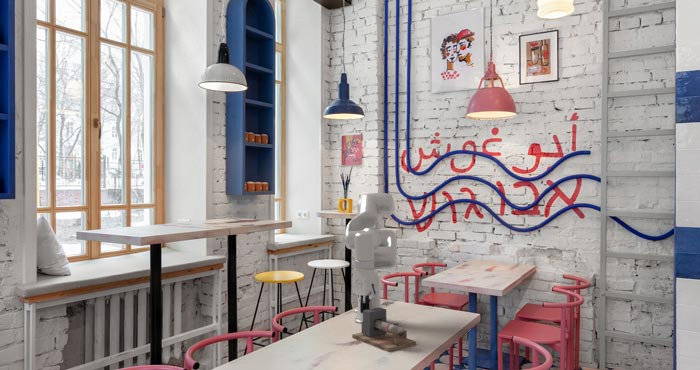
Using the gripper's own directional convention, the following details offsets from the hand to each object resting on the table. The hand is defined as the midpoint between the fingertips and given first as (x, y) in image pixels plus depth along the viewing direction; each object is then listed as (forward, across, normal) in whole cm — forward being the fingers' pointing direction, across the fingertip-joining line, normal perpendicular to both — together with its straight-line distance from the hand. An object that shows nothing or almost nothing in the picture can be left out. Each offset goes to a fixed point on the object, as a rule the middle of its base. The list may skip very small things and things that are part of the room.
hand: (364, 312), depth 192 cm
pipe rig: (+8, +11, 0) cm, 14 cm away
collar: (+7, +6, 0) cm, 9 cm away
